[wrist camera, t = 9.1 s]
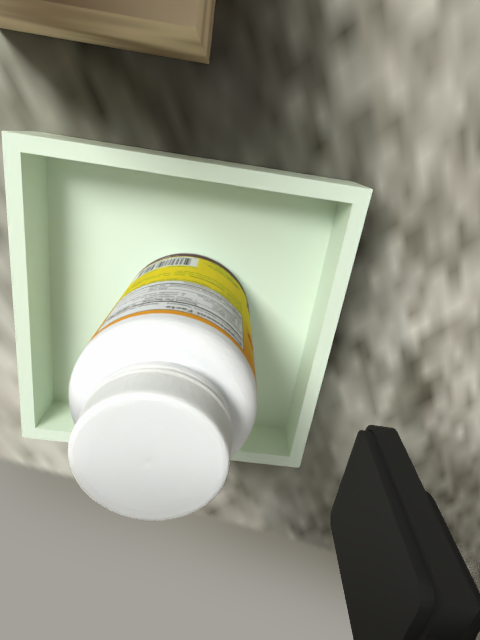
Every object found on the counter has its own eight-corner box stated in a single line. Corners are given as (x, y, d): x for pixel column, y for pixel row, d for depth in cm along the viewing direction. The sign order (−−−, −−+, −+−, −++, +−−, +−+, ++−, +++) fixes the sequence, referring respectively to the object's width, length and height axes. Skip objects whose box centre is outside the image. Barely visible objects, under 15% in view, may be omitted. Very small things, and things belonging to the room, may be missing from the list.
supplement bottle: (204, 379, 21) (179, 574, 12) (107, 318, 20) (-10, 483, 10) (274, 295, 19) (310, 445, 10) (172, 222, 18) (104, 315, 9)
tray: (352, 181, 18) (372, 189, 15) (291, 428, 23) (299, 467, 21) (38, 131, 17) (1, 130, 15) (48, 400, 22) (22, 437, 20)
